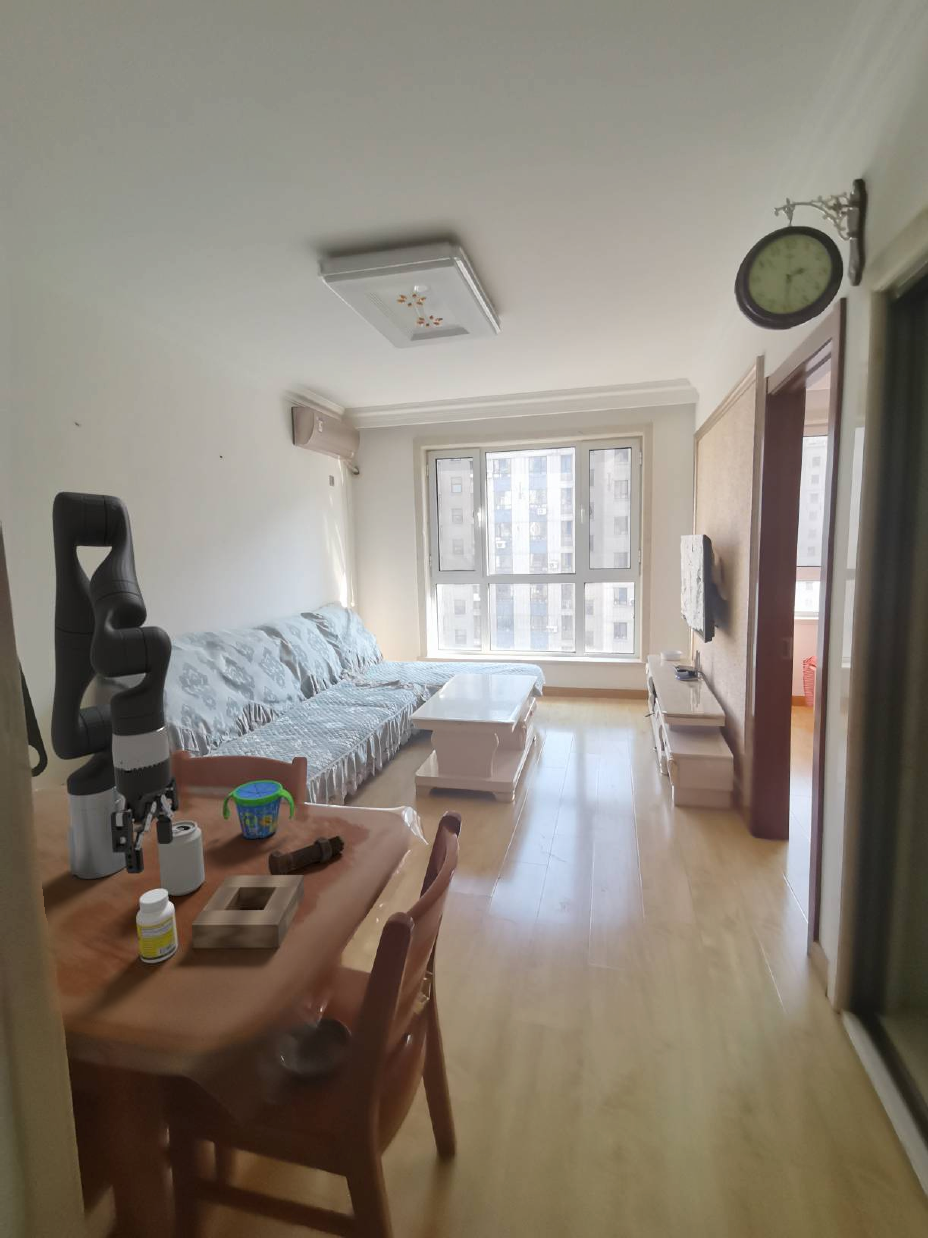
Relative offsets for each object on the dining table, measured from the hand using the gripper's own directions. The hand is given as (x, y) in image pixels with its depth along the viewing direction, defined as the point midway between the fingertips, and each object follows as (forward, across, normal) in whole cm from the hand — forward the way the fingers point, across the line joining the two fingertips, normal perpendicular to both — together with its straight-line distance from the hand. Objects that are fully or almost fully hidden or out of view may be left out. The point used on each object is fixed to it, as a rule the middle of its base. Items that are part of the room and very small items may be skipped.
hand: (151, 857), depth 91 cm
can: (+16, -18, -5) cm, 25 cm away
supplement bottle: (+16, 0, 0) cm, 17 cm away
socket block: (+16, -8, +12) cm, 22 cm away
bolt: (+17, -25, +17) cm, 35 cm away
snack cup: (+16, -39, +2) cm, 42 cm away
